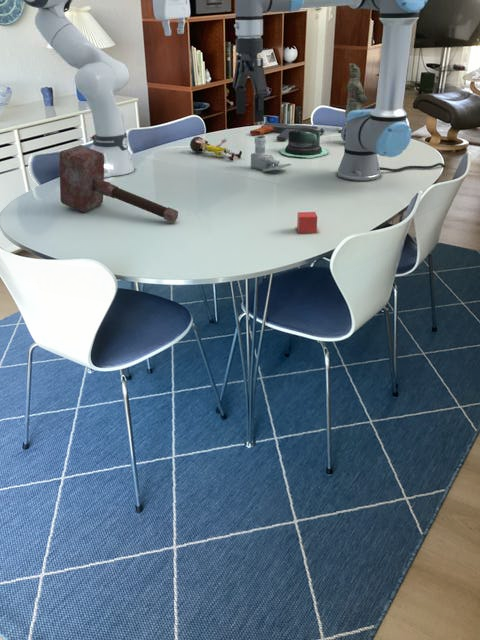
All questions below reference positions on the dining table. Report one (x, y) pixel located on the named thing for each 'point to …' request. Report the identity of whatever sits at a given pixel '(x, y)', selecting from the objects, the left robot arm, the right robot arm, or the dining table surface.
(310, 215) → the block
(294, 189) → the dining table surface
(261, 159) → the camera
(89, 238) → the dining table surface
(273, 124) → the submachine gun
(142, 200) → the sledgehammer
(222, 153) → the figurine
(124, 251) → the dining table surface
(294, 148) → the dark green rounded hat
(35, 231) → the dining table surface
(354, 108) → the statue
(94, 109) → the left robot arm
